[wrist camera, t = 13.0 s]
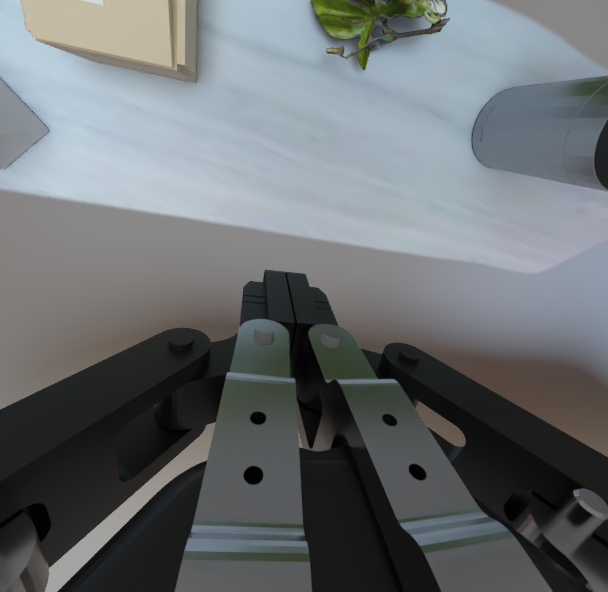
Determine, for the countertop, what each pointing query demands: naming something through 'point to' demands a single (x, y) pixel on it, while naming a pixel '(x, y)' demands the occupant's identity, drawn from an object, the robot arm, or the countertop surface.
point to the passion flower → (374, 21)
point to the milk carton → (16, 126)
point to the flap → (106, 26)
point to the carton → (183, 69)
